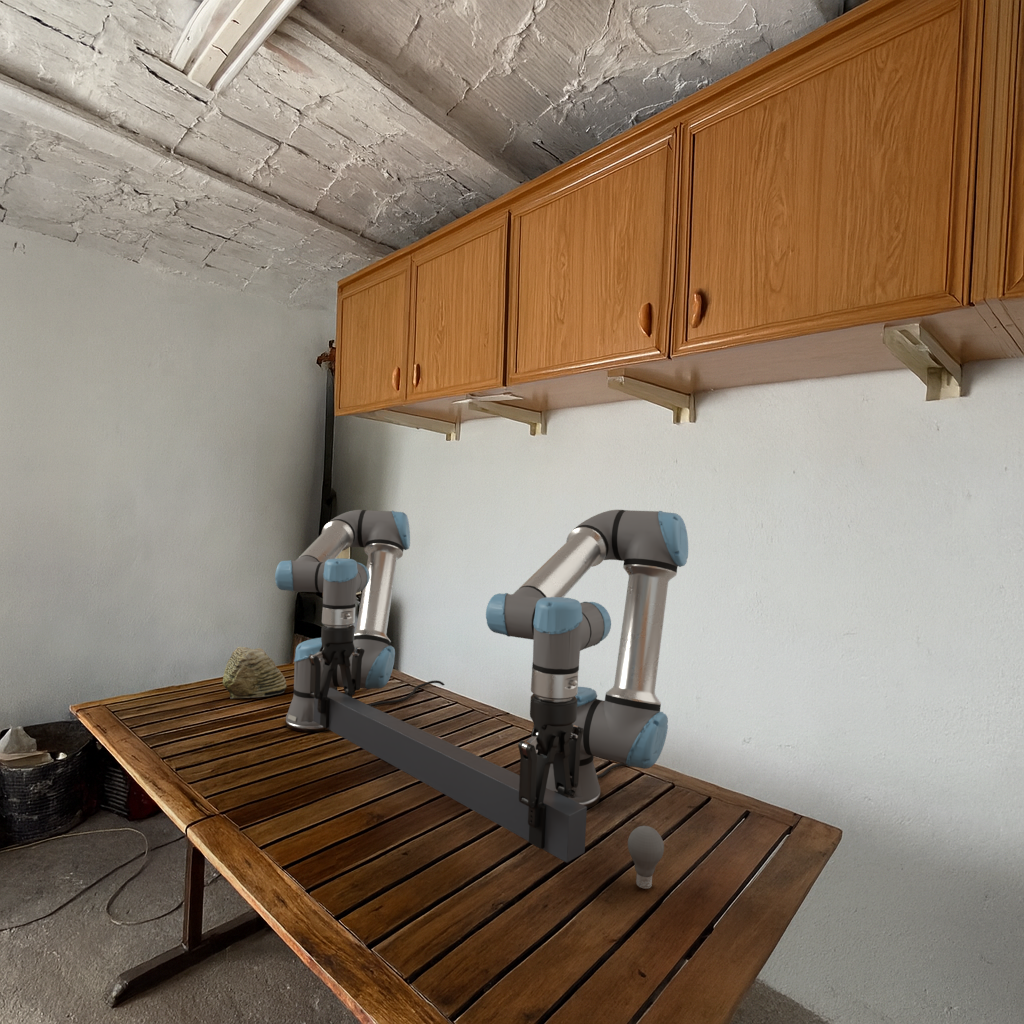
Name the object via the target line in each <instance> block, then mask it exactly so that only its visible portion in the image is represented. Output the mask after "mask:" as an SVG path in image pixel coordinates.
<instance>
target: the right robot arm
mask: <svg viewBox="0 0 1024 1024" xmlns="http://www.w3.org/2000/svg"><path fill="white" fill-rule="evenodd" d="M688 558H689V537H688V531H687V526H686V523H685V521H684V519H683V518H682V516H681V515H680V514H678V513H675V512H667V511H662V510H658V511H656V510H629V509H628V510H627V509H611V510H605V511H603V512H600V513H597V514H595V515H593V516H591V517H589V518H587V519H585V520H584V521H582V522H581V523H580V524H578V525H577V526H575V527H574V528H573V529H572V530H571V531H570V532H569V533H568V535H567V537H566V541H565V543H564V544H563V545H562V546H561V547H560V548H559V549H558V550H557V551H556V552H555V553H554V554H553V555H552V556H551V557H550V558H549V559H547V560H546V562H545V563H543V564H542V565H541V566H540V567H539V568H538V569H537V570H536V571H535V572H534V573H533V574H532V575H531V576H530V577H529V578H528V579H526V581H525V582H523V584H522V585H520V586H519V588H517V590H515V591H514V593H512V594H511V593H508V592H505V593H496V594H494V595H492V597H491V598H490V599H489V601H488V603H487V605H486V610H485V619H486V625H487V627H488V628H489V630H490V631H491V632H493V633H495V634H499V635H504V636H506V637H513V638H514V637H515V638H519V639H526V640H532V641H533V643H532V644H533V645H532V663H531V665H532V666H531V678H530V679H531V680H530V692H531V693H532V694H531V696H530V700H529V702H530V704H529V717H530V719H531V720H532V721H531V722H532V723H533V726H532V730H531V733H530V737H529V738H528V739H527V740H526V741H525V740H520V741H519V742H518V744H517V747H518V751H519V755H520V756H519V757H520V759H519V775H520V782H519V802H521V803H523V804H525V805H527V806H529V809H528V824H529V841H528V844H529V843H530V844H531V845H533V846H534V847H537V848H538V849H540V850H543V848H544V846H545V825H546V806H544V805H543V801H544V795H545V790H546V788H547V789H550V790H552V791H554V792H556V793H558V794H560V795H563V796H565V797H567V798H569V799H571V800H573V801H575V802H578V803H580V804H582V805H584V806H586V807H587V810H588V809H591V808H593V807H595V806H596V805H597V804H598V803H599V802H600V800H601V785H600V782H599V779H601V778H602V777H604V776H605V775H607V774H608V773H609V772H610V771H612V770H613V769H615V768H619V767H626V766H627V767H634V768H638V769H643V770H645V769H650V768H652V767H653V766H654V765H655V764H656V763H657V762H658V760H659V758H660V756H661V754H662V752H663V749H664V746H665V743H666V739H667V735H668V729H669V717H668V716H667V714H666V713H664V711H661V706H662V702H661V701H660V699H659V698H658V696H657V694H656V685H657V678H658V670H659V662H660V652H661V646H662V645H661V644H662V637H663V635H662V634H663V628H664V622H665V612H666V606H667V605H666V604H667V598H668V597H667V596H668V590H669V589H668V588H669V583H670V581H671V580H672V579H673V578H675V577H676V576H677V573H678V567H679V568H682V567H684V566H685V565H686V564H687V562H688ZM609 560H610V561H621V562H623V565H622V568H623V569H624V571H625V572H626V574H628V581H627V587H626V596H625V602H624V610H623V617H622V618H623V619H622V624H621V632H620V638H619V639H620V640H619V645H618V646H619V647H618V653H617V661H616V667H615V668H616V669H615V676H614V684H613V686H612V687H611V688H610V689H608V690H607V691H605V697H604V700H602V699H599V698H598V693H597V691H596V689H593V688H591V687H588V686H587V687H586V686H579V670H580V656H581V651H583V650H585V649H587V648H591V647H593V646H594V647H595V646H597V645H598V644H600V643H601V642H602V641H604V640H605V639H606V638H607V637H608V636H609V634H610V632H611V629H612V619H611V616H610V613H609V612H608V610H607V608H606V607H605V606H603V605H602V604H600V603H598V602H596V601H582V602H580V601H579V600H578V599H576V598H572V597H571V598H570V597H566V596H567V595H568V593H569V592H570V591H571V590H572V589H573V588H574V587H575V586H576V585H577V583H578V582H580V580H581V579H582V578H583V577H584V576H585V574H586V573H588V571H589V570H590V569H591V568H592V567H597V566H599V565H600V564H601V563H603V562H604V561H609ZM594 757H595V758H599V759H602V760H607V761H611V762H613V763H616V764H612V765H611V766H609V767H607V769H605V770H604V771H603V772H602V773H600V774H597V771H596V766H595V763H594Z"/></svg>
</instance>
